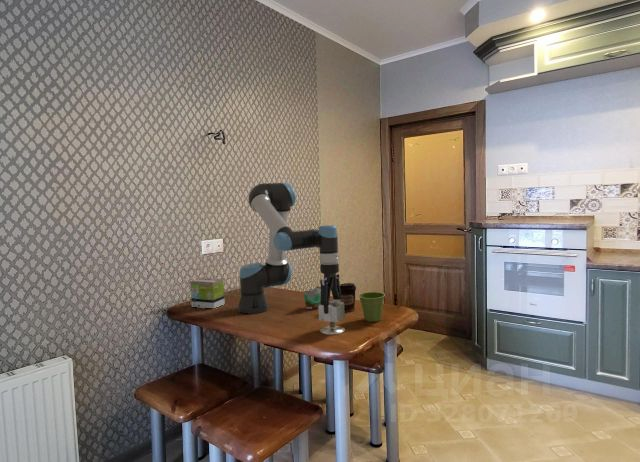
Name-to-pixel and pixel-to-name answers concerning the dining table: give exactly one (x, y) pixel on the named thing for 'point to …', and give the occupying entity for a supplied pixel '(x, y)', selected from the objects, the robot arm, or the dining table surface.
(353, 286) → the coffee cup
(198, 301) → the tea box
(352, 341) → the dining table surface
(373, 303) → the plant pot
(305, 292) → the food container
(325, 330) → the post
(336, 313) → the collar
